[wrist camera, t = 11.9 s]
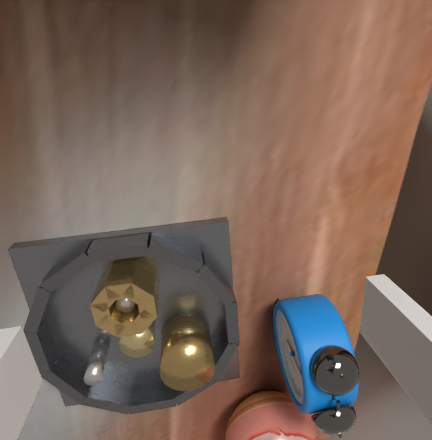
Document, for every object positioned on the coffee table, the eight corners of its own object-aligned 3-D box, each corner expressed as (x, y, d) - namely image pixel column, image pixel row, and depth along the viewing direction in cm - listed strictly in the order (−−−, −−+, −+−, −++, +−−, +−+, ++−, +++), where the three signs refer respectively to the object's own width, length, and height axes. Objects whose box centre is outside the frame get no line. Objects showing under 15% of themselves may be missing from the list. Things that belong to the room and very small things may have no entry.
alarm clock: (269, 281, 45) (313, 368, 31) (313, 273, 45) (376, 356, 31) (273, 354, 50) (312, 457, 36) (313, 347, 50) (366, 446, 36)
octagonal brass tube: (98, 260, 39) (85, 289, 33) (153, 253, 39) (150, 280, 34) (109, 305, 41) (99, 339, 36) (161, 298, 42) (159, 331, 36)
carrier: (13, 243, 38) (-22, 278, 31) (226, 217, 40) (237, 244, 33) (68, 397, 48) (50, 449, 41) (237, 369, 50) (248, 415, 43)
